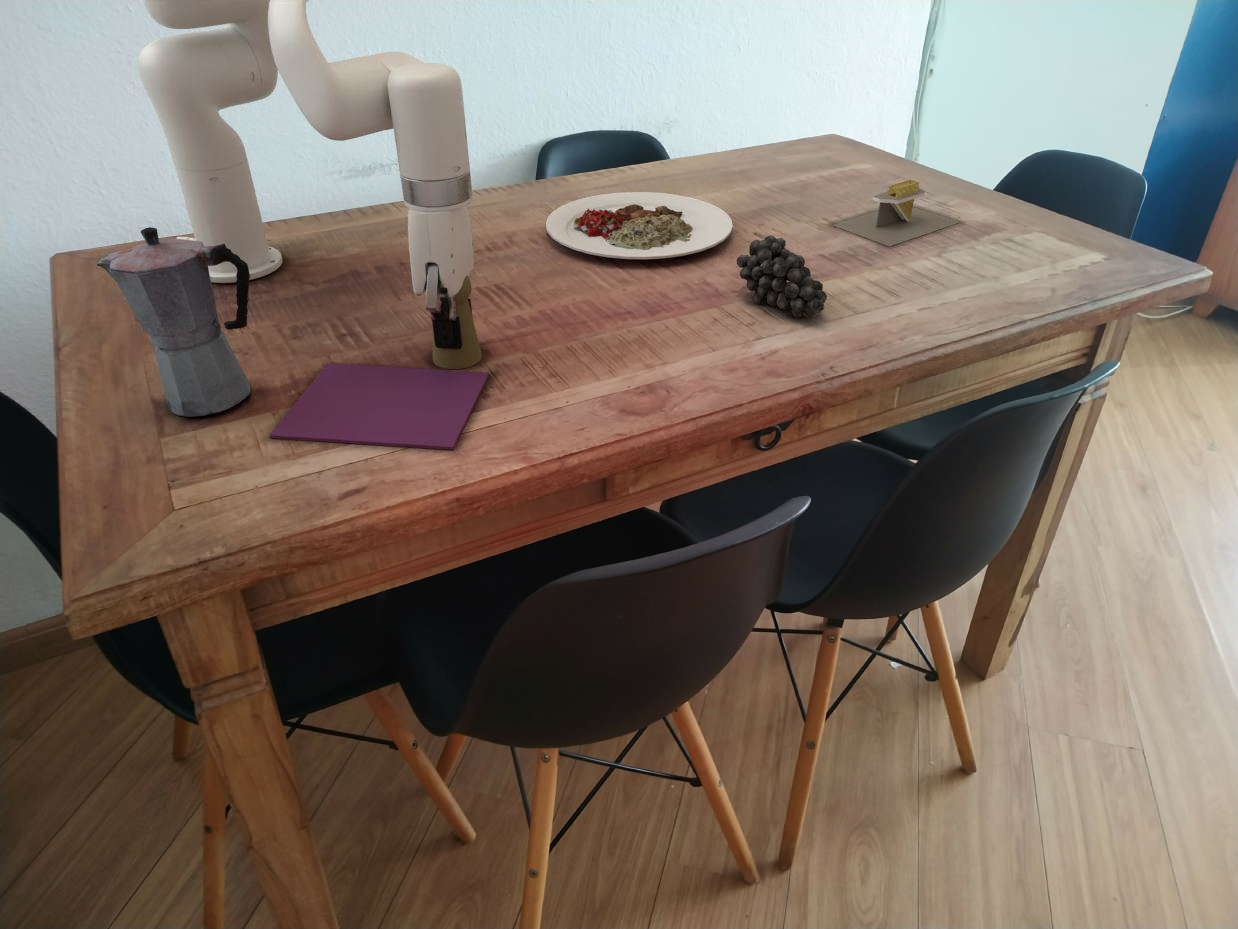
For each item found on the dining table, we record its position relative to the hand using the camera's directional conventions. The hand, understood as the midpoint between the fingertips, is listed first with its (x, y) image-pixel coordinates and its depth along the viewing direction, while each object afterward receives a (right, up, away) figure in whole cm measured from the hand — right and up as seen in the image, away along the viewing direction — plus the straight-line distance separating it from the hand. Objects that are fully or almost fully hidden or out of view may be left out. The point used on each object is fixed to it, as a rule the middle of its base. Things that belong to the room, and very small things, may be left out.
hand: (454, 336), depth 108 cm
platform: (+66, +24, +40) cm, 81 cm away
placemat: (-6, -9, -8) cm, 13 cm away
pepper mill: (0, -3, +2) cm, 3 cm away
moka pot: (-26, -8, -6) cm, 28 cm away
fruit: (+42, +6, +13) cm, 44 cm away
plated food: (+23, +22, +37) cm, 49 cm away
